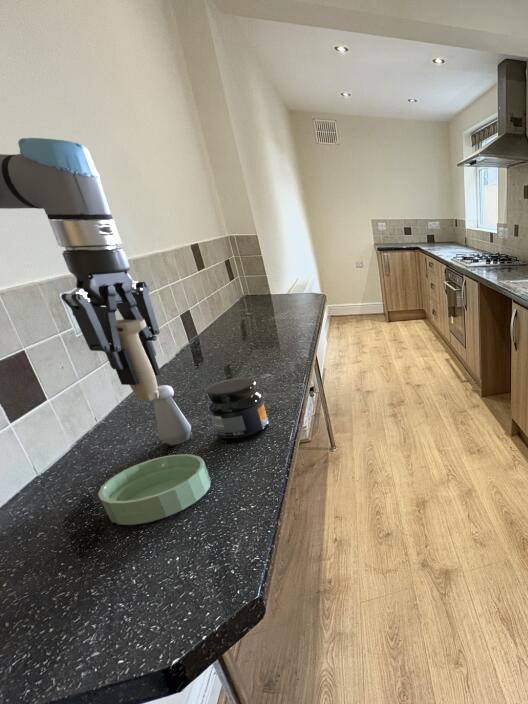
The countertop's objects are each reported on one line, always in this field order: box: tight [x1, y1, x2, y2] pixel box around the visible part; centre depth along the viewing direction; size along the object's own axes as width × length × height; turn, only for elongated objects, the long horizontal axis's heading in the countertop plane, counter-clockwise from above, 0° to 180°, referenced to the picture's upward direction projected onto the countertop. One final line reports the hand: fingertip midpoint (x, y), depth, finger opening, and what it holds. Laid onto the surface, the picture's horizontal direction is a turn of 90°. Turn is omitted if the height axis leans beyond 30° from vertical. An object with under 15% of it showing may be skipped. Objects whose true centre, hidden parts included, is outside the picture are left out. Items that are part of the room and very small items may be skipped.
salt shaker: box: [150, 384, 192, 446], centre depth 90 cm, size 6×6×13 cm
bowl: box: [97, 453, 212, 526], centre depth 72 cm, size 14×14×5 cm
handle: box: [116, 318, 159, 403], centre depth 75 cm, size 5×6×15 cm
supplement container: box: [204, 377, 270, 443], centre depth 93 cm, size 10×10×12 cm
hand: (141, 379), depth 76 cm, fingers closed on handle, 4 cm apart
